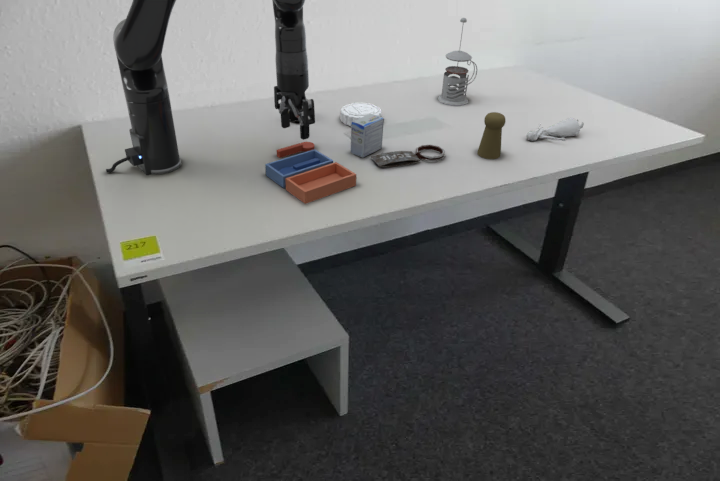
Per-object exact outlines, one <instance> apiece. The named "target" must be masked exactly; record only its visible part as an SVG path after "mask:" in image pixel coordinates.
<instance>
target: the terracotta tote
mask: <svg viewBox="0 0 720 481" xmlns="http://www.w3.org/2000/svg"><path fill="white" fill-rule="evenodd" d="M356 186H357V173H355V172H353V171H352V170H350V169H349V168H347V167H345V166H344V165H342V164H340V163H339V162H337V161H334V162H333V163H331V164H328V165H325V166H322V167H319V168H316V169H313V170H310V171H307V172H304V173H301V174H297V175H294V176H291V177H288V178H286V188H285V190H286V191H287V192H288V193H289V194H291V195H292V196H293V197H295V198H296V199H298V200H299V201H300V202H302V203H303V204H304V205H307V204H309V203H311V202H312V203H313V202H315V201H318V200H320V199H323V198H326V197H328V196H332V195H334V194H337V193H340V192H342V191H343V192H344V191H345V190H348V189H351V188H353V187H356Z"/></svg>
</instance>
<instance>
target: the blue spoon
mask: <svg viewBox="0 0 720 481" xmlns="http://www.w3.org/2000/svg"><path fill="white" fill-rule="evenodd" d="M316 164H320V160H319V159H318V158H314V159H311V160H308V161H305V162H302V163H299V164H296V165H293V168H291V167H286V168H282V169H281V170H280V173H282V174H283V175H285V174H288V173H291V172H295V171H298V170H301V169H304V168H307V167H310V166H313V165H316Z"/></svg>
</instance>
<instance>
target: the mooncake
mask: <svg viewBox="0 0 720 481" xmlns="http://www.w3.org/2000/svg"><path fill="white" fill-rule="evenodd" d="M369 114H374V115H377V116H380V117H382V115H383V111H382V109H381V107H380V106H378V105H375V104H373V103H369V102H350V103H347V104H345V105H343V106H342V107H341V108H340V110H339V119H340V121H341V123H343V124H344V125H346V126H348V127H351V124H352V122H353V121H355V120H357V119H359V118H362V117H364V116H366V115H369ZM382 118H383V117H382Z"/></svg>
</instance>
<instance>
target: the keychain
mask: <svg viewBox="0 0 720 481" xmlns="http://www.w3.org/2000/svg"><path fill="white" fill-rule="evenodd" d="M427 150H429V151H435V152H438V153H440V154H439V155H427V154H422V153H421V152H422V151H427ZM445 155H446V151H445V149H444V148H442V147H441V146H438V145H435V144H421V145H418V146H417V147H416V148H415V152H413V151H411V150H396V151H395V150H394V151H389V152H382V153H379V154H375V155H372V156H371V157H370V158H371V159H372V160H373V161H374V163H375V164H376V165H377V166H378V167H379V168H395V167H403V166H409V165H414V164H416V163H420V162H421V160H423V161H426V162H439V161H441V160H443V159H444V158H445Z"/></svg>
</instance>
